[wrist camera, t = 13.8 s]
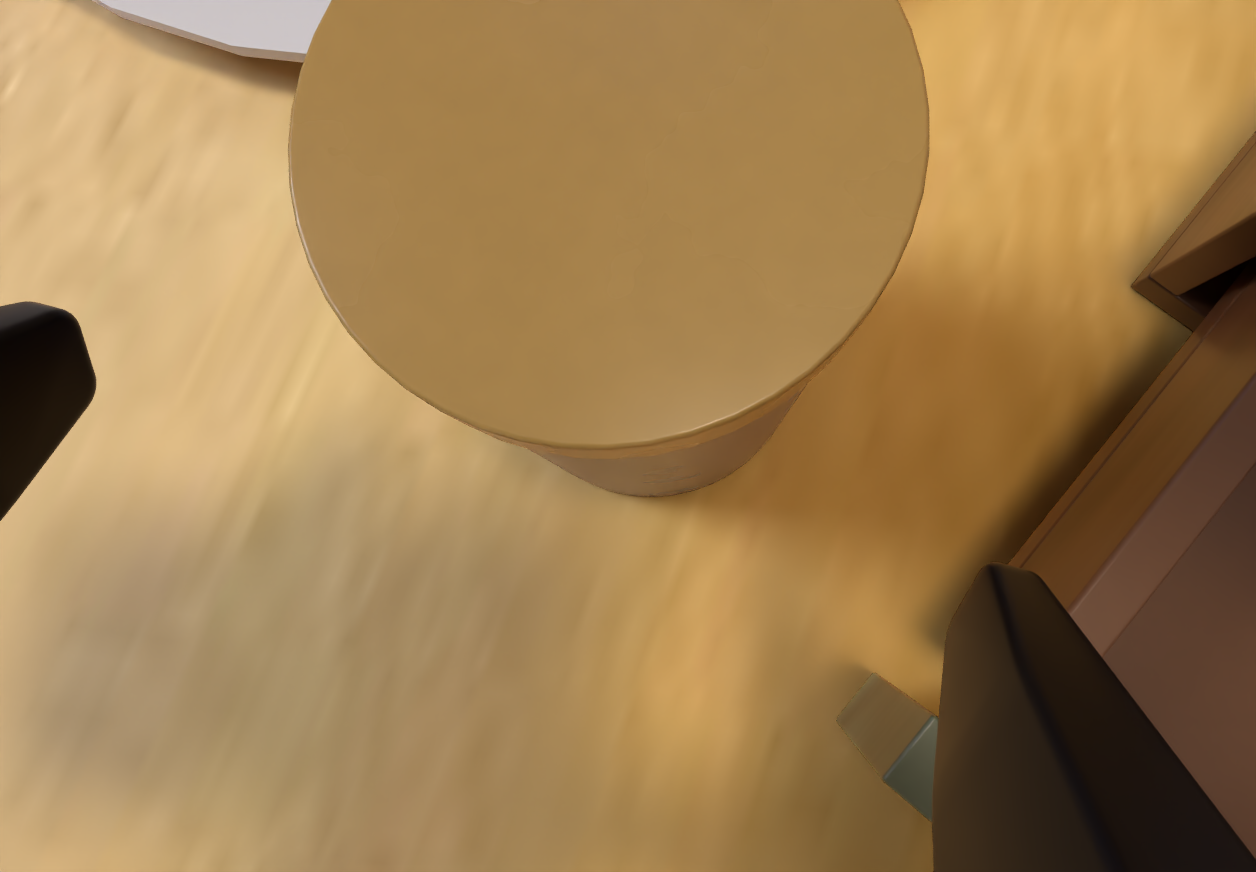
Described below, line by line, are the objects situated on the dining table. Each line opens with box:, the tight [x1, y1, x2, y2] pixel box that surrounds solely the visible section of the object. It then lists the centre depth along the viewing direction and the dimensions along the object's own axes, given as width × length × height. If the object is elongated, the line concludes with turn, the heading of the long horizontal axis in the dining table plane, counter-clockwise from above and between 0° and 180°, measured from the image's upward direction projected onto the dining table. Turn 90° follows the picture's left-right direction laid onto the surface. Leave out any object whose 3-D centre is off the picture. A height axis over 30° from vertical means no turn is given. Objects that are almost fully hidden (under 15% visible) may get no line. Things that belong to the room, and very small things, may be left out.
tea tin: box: [288, 0, 929, 497], centre depth 13 cm, size 6×6×10 cm
